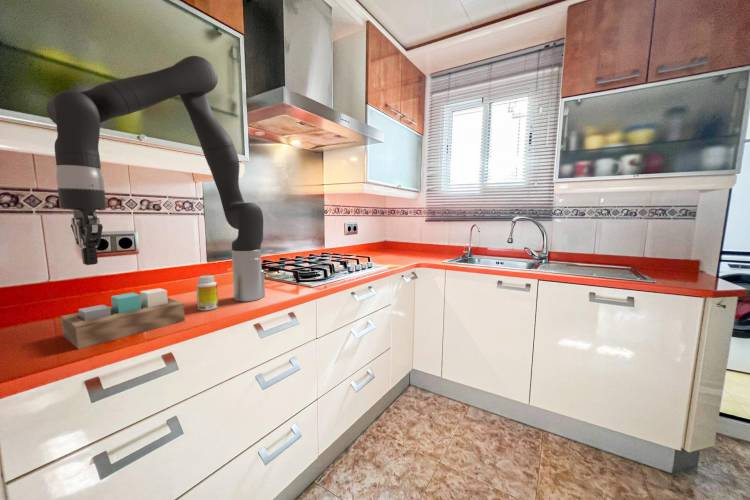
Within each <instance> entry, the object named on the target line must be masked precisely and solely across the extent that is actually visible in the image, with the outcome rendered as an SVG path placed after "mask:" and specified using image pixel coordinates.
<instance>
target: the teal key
mask: <svg viewBox="0 0 750 500" xmlns="http://www.w3.org/2000/svg"><path fill="white" fill-rule="evenodd" d="M110 301H111V306H112V311H113V312H115V313H117V314H119V313H124V312H129V311H133V310H138V309H141V296H140V294H138V293H136V292H128V293H122V294H117V295H111V296H110Z"/></svg>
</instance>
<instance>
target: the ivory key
mask: <svg viewBox="0 0 750 500" xmlns="http://www.w3.org/2000/svg"><path fill="white" fill-rule="evenodd" d="M139 293H140V294H139V295H140V298H141V305H142V306H144V307H147V308H148V307H152V306H157V305H162V304H167V303H168V298H169V297H168V290H167V289H164V288H161V287H158V288H153V289H146V290H141V291H139Z"/></svg>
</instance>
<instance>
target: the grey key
mask: <svg viewBox="0 0 750 500" xmlns="http://www.w3.org/2000/svg"><path fill="white" fill-rule="evenodd" d="M110 307H111V306H108V305H106V304H99V305H94V306H89V307H83V308H78V313H79V319H81V320H82V321H86V320H91V319H96V318H100V317H105V316H110V315H111V309H110Z"/></svg>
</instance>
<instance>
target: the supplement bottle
mask: <svg viewBox="0 0 750 500" xmlns="http://www.w3.org/2000/svg"><path fill="white" fill-rule="evenodd" d="M198 281H199V282H197V283H196V287H195V288H196V301H197V302H196V303H197V310H199V311H201V312H202V311H204V312H205V311H211V310H215V309H217V308H218V307H219V298H218V294H219V293H218V283H217V281H215V275H212V274H206V275H205V274H204V275H201V276H200V275H199V278H198Z"/></svg>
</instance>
